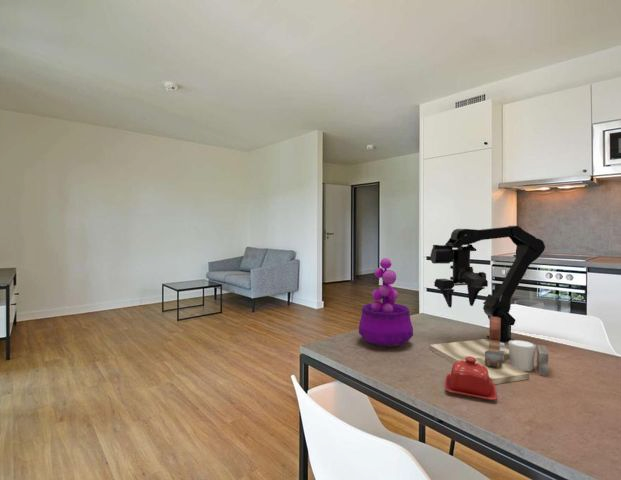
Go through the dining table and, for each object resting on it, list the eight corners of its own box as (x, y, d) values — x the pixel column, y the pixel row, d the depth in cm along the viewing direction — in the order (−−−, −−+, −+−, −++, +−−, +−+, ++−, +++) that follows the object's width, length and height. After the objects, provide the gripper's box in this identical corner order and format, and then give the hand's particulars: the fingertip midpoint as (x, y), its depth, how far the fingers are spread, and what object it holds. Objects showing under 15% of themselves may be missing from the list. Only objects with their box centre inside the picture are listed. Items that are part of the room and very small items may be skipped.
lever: (504, 368, 95) (504, 336, 94) (484, 365, 97) (484, 333, 97) (504, 344, 114) (504, 317, 113) (487, 342, 116) (487, 315, 116)
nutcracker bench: (488, 342, 122) (489, 325, 122) (563, 374, 96) (564, 352, 96) (429, 349, 115) (429, 331, 115) (492, 384, 89) (492, 361, 89)
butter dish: (494, 385, 90) (494, 352, 89) (497, 406, 79) (498, 369, 79) (446, 377, 94) (446, 346, 94) (444, 396, 84) (444, 361, 84)
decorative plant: (424, 346, 118) (425, 258, 117) (383, 356, 109) (383, 261, 108) (386, 331, 135) (387, 255, 134) (348, 339, 126) (348, 257, 125)
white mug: (541, 372, 97) (541, 347, 97) (516, 371, 97) (516, 347, 97) (526, 362, 104) (526, 339, 104) (503, 362, 104) (503, 339, 104)
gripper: (454, 266, 114) (453, 313, 115) (500, 265, 119) (499, 309, 120) (433, 263, 125) (433, 306, 126) (476, 261, 130) (476, 303, 131)
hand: (460, 306), depth 125 cm, fingers open, 9 cm apart
